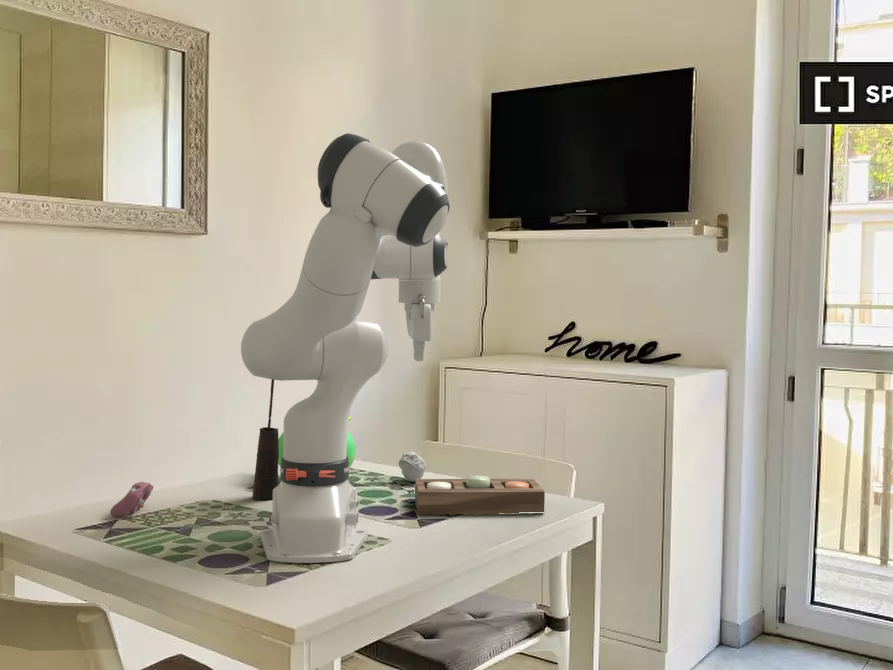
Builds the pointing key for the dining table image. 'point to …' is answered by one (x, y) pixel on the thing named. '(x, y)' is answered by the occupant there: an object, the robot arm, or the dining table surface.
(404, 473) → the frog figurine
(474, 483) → the sage button
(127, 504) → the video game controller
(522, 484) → the terracotta button
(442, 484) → the cream button
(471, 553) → the dining table surface
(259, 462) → the butter churn
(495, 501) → the button panel
